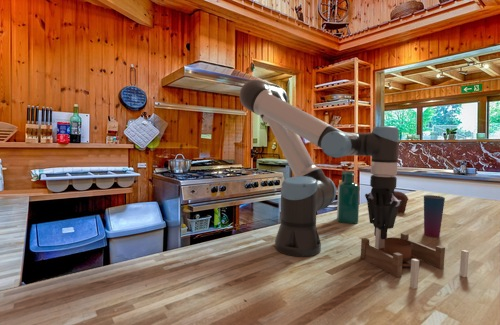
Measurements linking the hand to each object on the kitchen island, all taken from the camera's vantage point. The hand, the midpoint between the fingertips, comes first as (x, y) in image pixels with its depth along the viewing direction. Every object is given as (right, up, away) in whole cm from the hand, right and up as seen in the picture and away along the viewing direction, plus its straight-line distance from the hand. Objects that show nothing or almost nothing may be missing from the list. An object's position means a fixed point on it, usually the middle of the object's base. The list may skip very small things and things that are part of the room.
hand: (379, 247), depth 92 cm
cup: (+28, -1, +18) cm, 33 cm away
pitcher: (+2, +1, +37) cm, 37 cm away
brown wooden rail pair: (+3, -2, -7) cm, 8 cm away
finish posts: (+7, -3, -19) cm, 20 cm away
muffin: (+33, +2, +56) cm, 65 cm away
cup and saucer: (+2, -3, -6) cm, 7 cm away
